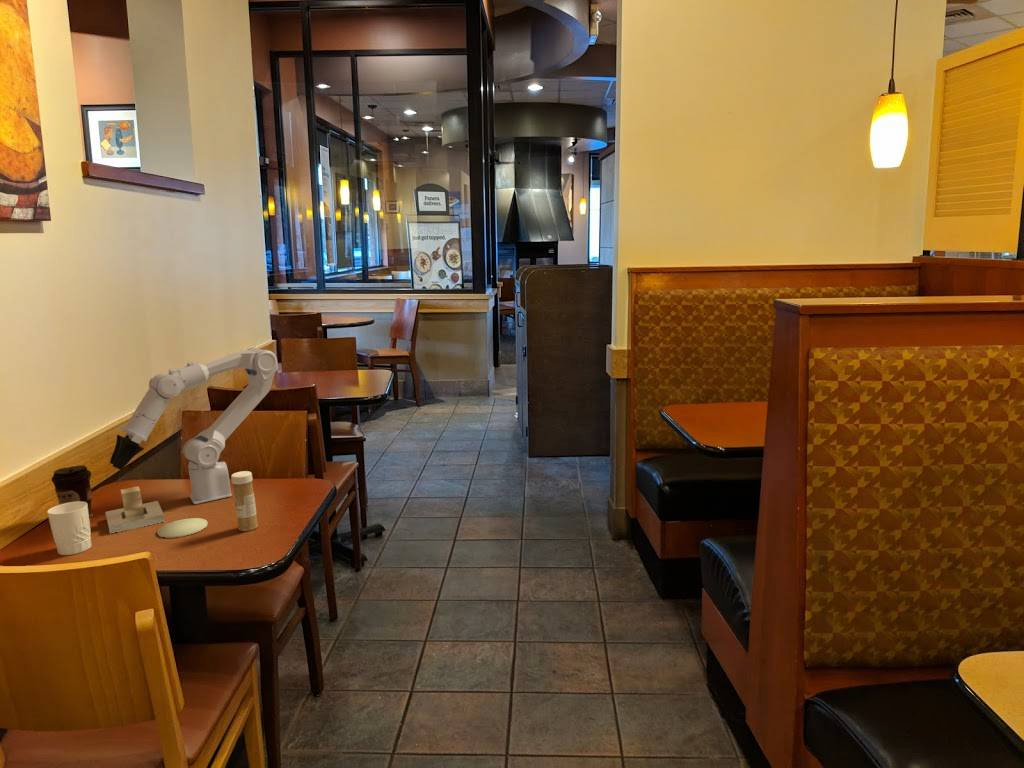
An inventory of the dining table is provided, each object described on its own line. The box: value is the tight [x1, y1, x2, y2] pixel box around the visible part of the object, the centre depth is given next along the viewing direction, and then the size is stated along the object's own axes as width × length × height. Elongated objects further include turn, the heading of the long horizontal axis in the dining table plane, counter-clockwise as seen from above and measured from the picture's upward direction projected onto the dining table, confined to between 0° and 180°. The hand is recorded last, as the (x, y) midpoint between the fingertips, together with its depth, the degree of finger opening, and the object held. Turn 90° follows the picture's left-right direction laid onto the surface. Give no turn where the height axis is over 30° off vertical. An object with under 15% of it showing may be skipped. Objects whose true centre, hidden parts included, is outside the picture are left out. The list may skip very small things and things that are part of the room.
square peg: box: [120, 486, 144, 518], centre depth 187 cm, size 4×4×8 cm
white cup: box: [46, 501, 92, 556], centre depth 171 cm, size 8×8×10 cm
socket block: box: [104, 500, 166, 535], centre depth 188 cm, size 12×12×2 cm
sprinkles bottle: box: [230, 470, 259, 532], centre depth 177 cm, size 5×5×13 cm
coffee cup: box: [51, 465, 93, 516], centre depth 191 cm, size 9×8×13 cm
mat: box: [156, 517, 209, 539], centre depth 181 cm, size 11×11×1 cm
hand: (115, 466), depth 186 cm, fingers open, 7 cm apart
